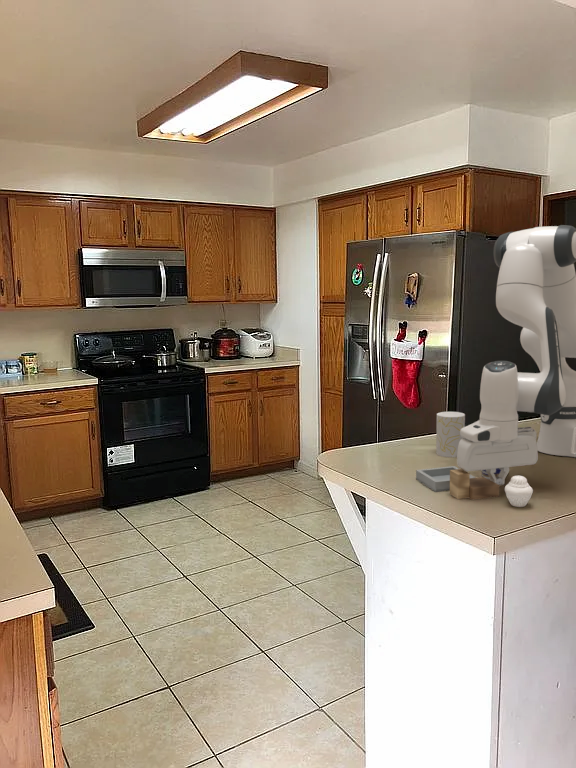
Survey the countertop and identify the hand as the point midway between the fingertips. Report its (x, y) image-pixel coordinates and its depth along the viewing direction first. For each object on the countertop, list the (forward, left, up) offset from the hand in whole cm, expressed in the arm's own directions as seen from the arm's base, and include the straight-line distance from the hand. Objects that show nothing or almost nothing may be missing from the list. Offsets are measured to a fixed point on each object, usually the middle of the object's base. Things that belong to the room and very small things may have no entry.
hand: (497, 484), depth 157 cm
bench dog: (+10, 0, -2) cm, 10 cm away
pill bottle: (-5, -11, -2) cm, 12 cm away
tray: (+9, -10, -2) cm, 13 cm away
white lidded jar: (0, +10, -2) cm, 10 cm away
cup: (-6, -36, -2) cm, 36 cm away
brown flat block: (+5, 0, -2) cm, 5 cm away
